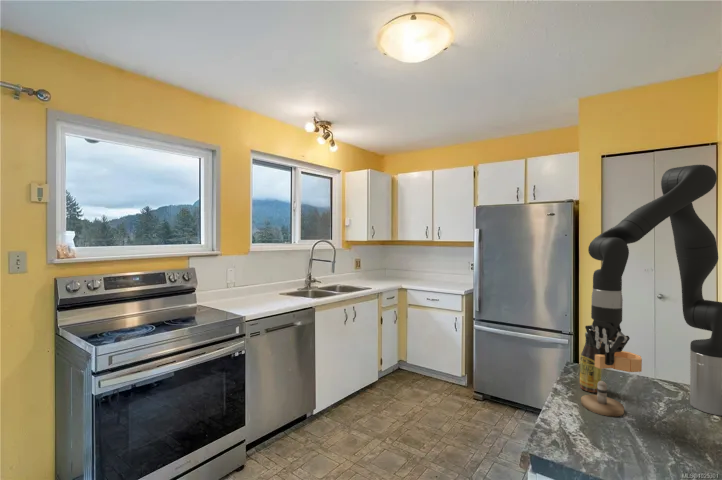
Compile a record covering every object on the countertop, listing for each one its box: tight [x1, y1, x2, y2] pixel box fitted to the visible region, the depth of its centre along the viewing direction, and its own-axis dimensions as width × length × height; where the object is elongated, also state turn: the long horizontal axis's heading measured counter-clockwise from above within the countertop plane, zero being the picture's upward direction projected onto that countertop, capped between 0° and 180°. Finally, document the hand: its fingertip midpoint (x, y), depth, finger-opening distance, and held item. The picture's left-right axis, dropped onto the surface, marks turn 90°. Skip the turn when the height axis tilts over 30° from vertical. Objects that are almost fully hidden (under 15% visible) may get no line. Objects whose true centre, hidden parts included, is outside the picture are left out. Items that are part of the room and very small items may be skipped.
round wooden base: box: [580, 380, 625, 417], centre depth 109 cm, size 11×11×8 cm
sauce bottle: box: [579, 331, 603, 393], centre depth 122 cm, size 7×6×20 cm
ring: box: [595, 350, 643, 373], centre depth 105 cm, size 13×9×4 cm
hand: (605, 363), depth 104 cm, fingers closed on ring
